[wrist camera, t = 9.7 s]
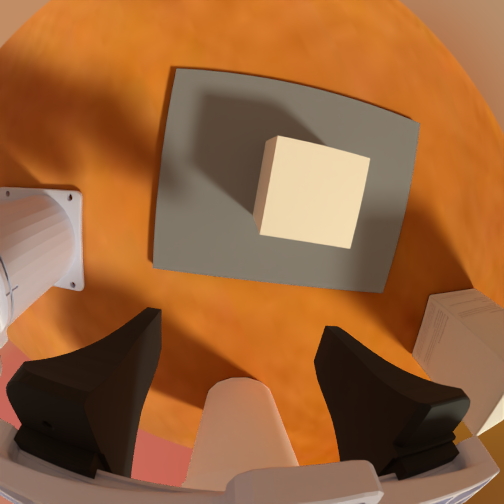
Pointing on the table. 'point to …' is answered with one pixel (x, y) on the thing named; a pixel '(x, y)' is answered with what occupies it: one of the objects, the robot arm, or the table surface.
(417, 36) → the table surface
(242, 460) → the foam cup
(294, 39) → the table surface
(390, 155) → the charcoal mat
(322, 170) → the cream cube
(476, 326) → the supplement box
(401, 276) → the table surface
